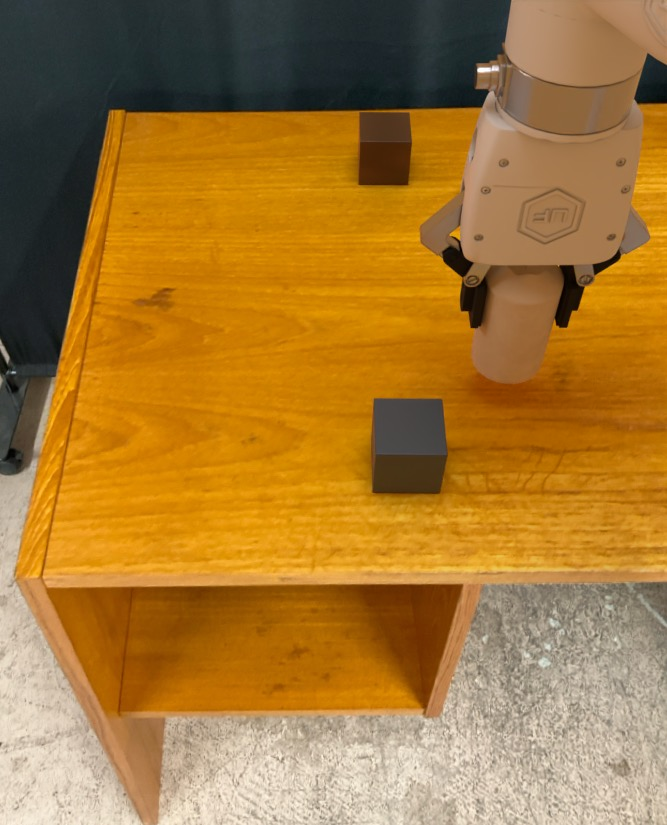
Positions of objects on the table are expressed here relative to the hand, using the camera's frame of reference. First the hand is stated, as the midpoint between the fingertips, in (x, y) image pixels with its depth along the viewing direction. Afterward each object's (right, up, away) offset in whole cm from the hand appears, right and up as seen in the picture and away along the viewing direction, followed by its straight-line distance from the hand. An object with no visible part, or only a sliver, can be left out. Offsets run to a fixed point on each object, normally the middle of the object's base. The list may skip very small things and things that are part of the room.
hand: (516, 312), depth 60 cm
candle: (0, -3, +4) cm, 5 cm away
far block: (-8, +18, +24) cm, 31 cm away
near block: (-8, -11, +2) cm, 14 cm away
